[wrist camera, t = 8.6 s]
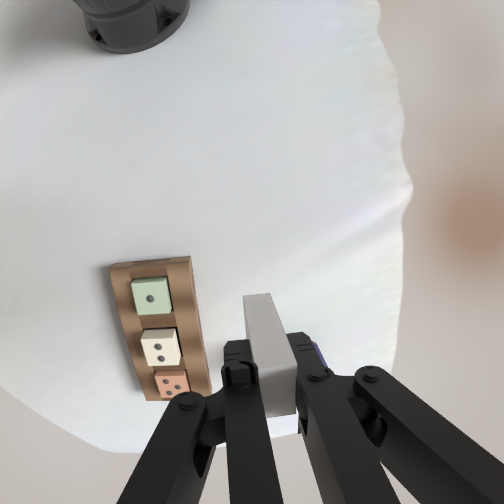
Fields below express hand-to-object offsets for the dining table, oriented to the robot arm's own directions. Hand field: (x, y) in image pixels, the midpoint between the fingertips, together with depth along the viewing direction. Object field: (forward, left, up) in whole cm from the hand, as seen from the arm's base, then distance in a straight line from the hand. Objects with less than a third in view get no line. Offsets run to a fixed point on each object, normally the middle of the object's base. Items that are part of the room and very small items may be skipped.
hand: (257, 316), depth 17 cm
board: (+14, -12, -24) cm, 31 cm away
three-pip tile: (+22, -12, -23) cm, 34 cm away
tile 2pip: (+14, -12, -21) cm, 29 cm away
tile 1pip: (+7, -12, -23) cm, 27 cm away
